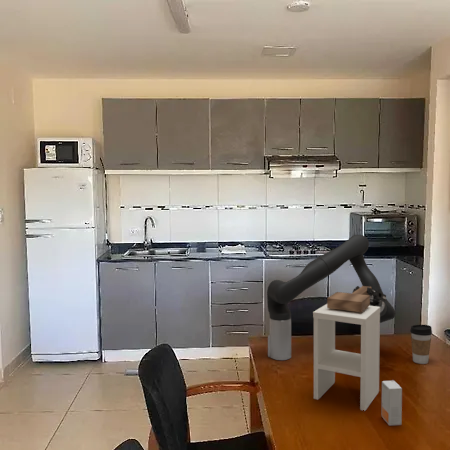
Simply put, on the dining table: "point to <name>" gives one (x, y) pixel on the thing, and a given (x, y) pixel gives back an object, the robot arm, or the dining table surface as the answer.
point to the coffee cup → (421, 343)
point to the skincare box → (391, 403)
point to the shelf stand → (342, 360)
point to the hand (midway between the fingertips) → (362, 289)
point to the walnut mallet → (350, 300)
